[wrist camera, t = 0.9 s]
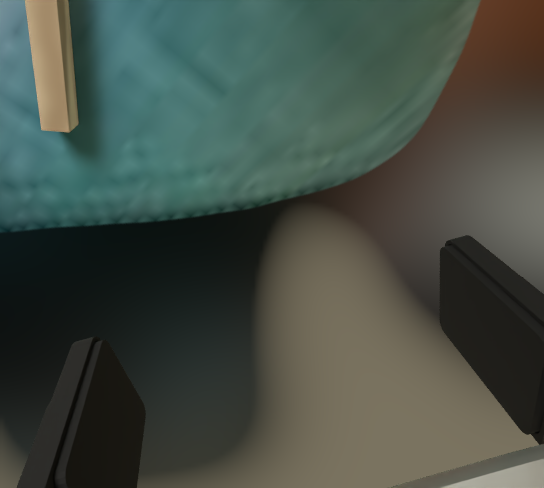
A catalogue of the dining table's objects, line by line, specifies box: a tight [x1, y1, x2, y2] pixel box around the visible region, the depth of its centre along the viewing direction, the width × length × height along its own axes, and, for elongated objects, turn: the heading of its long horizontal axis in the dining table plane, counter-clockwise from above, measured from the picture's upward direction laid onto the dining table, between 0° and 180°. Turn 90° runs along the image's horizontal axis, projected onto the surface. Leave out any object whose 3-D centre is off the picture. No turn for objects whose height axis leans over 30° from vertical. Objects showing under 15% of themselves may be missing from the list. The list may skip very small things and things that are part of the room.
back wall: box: [25, 0, 79, 132], centre depth 30 cm, size 2×14×3 cm, turn 172°
